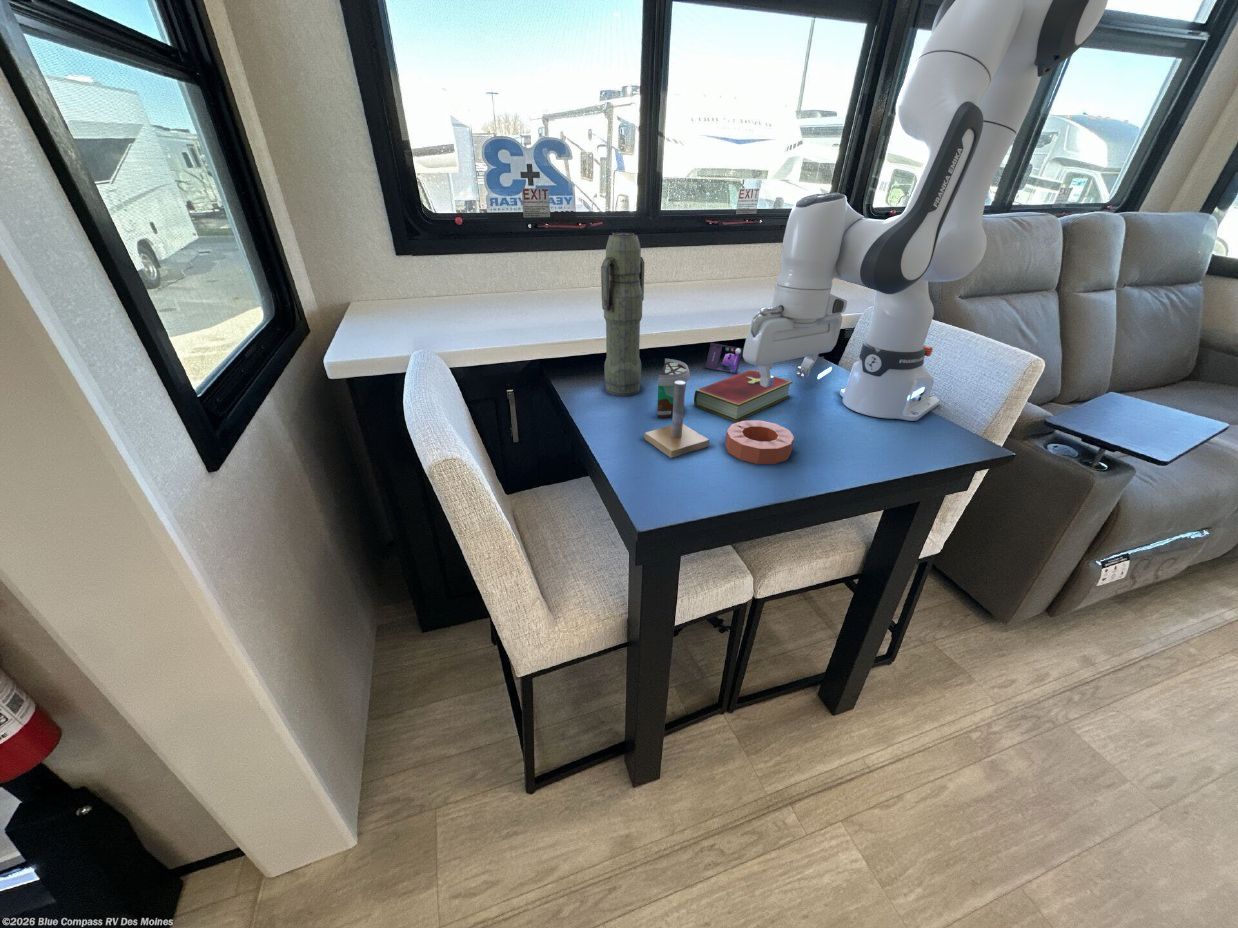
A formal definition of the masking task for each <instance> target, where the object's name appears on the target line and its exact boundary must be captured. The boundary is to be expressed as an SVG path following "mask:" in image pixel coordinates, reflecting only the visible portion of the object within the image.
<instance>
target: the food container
mask: <svg viewBox="0 0 1238 928" xmlns="http://www.w3.org/2000/svg"><path fill="white" fill-rule="evenodd" d="M690 378H691V374H690V369H689V366H688V364H686V363H685V362H683V361H681V360H677V359H673V358H671V359H670V358H664V364H663V367H662V370H661V373H660V374H659V375H658V379H657V415H656V416H657V417H656V418H657V419H668V418H672V417H673V400H674V383H675V381H684V382H685V389H686V387H687V382H688V381H689V380H690Z"/></svg>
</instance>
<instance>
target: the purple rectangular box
mask: <svg viewBox="0 0 1238 928" xmlns="http://www.w3.org/2000/svg"><path fill="white" fill-rule="evenodd" d="M723 348H724V350H725V352H728V353H725V354H724V357H723V359H722V360H721V361H722V362H721V363H720V358H721V354H722V351H723ZM708 350H709V351H708V354H707V359H706V364H705V368H707V369H711V370H716V371H721V372H727V373H731V374H738V370H739V366H740V362H741V358H742V355H743V350H744V348H742V347H737V346H732V345H725V344H720V343H715V342H711V343H710V346H709V349H708ZM734 353H735V354H734ZM719 364H722V365H723V367H728V368H729V367H731V368H730V370H728V369H722V368H718V367H719Z"/></svg>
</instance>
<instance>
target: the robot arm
mask: <svg viewBox="0 0 1238 928" xmlns="http://www.w3.org/2000/svg"><path fill="white" fill-rule="evenodd" d="M1108 3H1109V0H943V1H942V3H941V5H940V6H939V8H938V10H937V13H936V15H935V18H934V20H933V24H932V27H931V33H930V36H929V37H928V39H927V40H926V42H925V44H924V46H923V48H922V49H921V50H920V52H919V54H918V56H917V58H916V60H915V62H914V64H913V65H912V67H911V69H910V71H909V72H908V74H907V76H906V78H905V80H904V83H903V84H902V87H901V88H900V91H899V94H898V97H897V100H896V104H895V115H896V121H897V125H898V127H899V129H900V131H901V132H902V133H903V134H904V135H905V137H907V139H908V140H910V141H911V142H912V143H914V144H915V145H917V146H918V147H919V148H922V149H924V150H925V151H927V152H926V153H927V154H926V160H925V162H924V165H923V168H922V170H921V172H920V174H919V176H918V179H917V181H916V184H915V186H914V188H913V190H912V193H911V195H910V198H909V200H908V202H907V205H906V207H905V209H904V211H903V212H902V213H901V214H898V215H895V216H891V217H889V218H887V219H875V218H869V217H865V216H864V215H862V214H861V213H859V212H857V211H856V210H855V209H854V208H852V207H851V206H850V204H849V203H848V201H847V200H848V198H847V196H846V195H845V194H843V193H839V192H824V193H816V194H811V195H806V196H804V197H802V198H800V199H799V200H797V201H796V202H795V203H794V205H793V207H792V209H791V211H790V213H789V217H788V219H787V223H786V226H785V230H784V235H783V240H782V246H781V250H780V263H781V264H780V271H779V273H778V276H777V278H776V281H775V287H774V291H773V298H772V304H771V307H762V308H760V309H759V311H758V312H756V314H755V315H754V316H753V317H752V318H751V323H750V325H749V328H748V330H747V334H746V337H745V342H744V346H743V350H742V358H743V360H744V362H745V363H747V364H749V365H752V366H755V367H757V371H759V373H760V375H761V378H760V385H761V386H763V387H769V386H772V385H773V381H774V377H773V376H774V375H772V374H771V371H770V370H772V369H773V365H774V364H776V363H782V362H786V361H791V360H795V359H800V358H801V359H802V358H803V361H802V362H801V365H800V366H797V369H796V373H795V375H796V377H797V378H800V379H805V378H809V376H810V374H811V369H812V368H813V366H814V365H815V363H816V362H817V360H818V357H819V355H820V354H824V353H829V352H832V350H833V349H834V348H835V346H837V342H838V339H839V335H840V331H841V327H842V324H843V323H842V322H843V316H842V314H844V312H845V311H846V309H847V306H848V300H846V299H844V298H842V297H841V296H837V295H834V294H833V293H831V291H832V289H833V280H834V279H836V280H840V281H843V282H846V283H850V284H854V285H855V284H856V285H860V286H864V287H867V288H869V289H871V290H874V301H873V309H872V313H871V319H870V322H869V326H868V330H867V334H866V339H865V340H864V341H863V342H862V346H861V347H860V350H859V352H860V353H859V360H857V361H855V362H854V363H853V365H852V367H851V371H850V374H849V376H848V380H847V382H846V384H845V388H842V389H840V391H839V395H840V396H841V397H842V403H843V405H844V406H845V407H846V408H848V409H850V410H851V411H854V412H856V413H859V414H862V415H864V416H869V417H874V418H881V419H889V420H890V419H891V420H893V419H896V420H903V421H909V422H917V421H919V420H920V419H921V418H923V417H924V416H925V415H927V414H928V413H930V411H932V410H934V409H935V408H937V406H939V405H940V401H941V400H940V399H939V398H937V397H936V396H935V395H932V394H931V392H932V389H933V385H934V377H933V376H932V375H931V374H930V372H929V371H928V370H927V368H925V366H924V364H925V363H924V362H925V357H931V355H932V354H933V352H934V347H932V346H927V345H925V344H926V343H925V342H926V340H927V336H928V334H929V331H930V327H931V324H932V322H933V318H934V314H935V310H934V309H935V308H934V305H933V304H934V303H933V301H932V300H931V297H930V292H929V282H930V283H939V282H940V283H941V282H942V283H943V282H955V281H958V280H961V279H963V278H965V277H967V276H969V275H970V274H971V273H973V271H974V270H975V269H977V268H978V266H979V264H981V261H982V260H983V258H984V256H985V254H986V250H987V245H988V239H987V234H986V232H985V230H984V225H983V220H984V219H983V217H984V210H985V205H986V201H987V198H988V194H989V191H990V188H991V185H992V184H993V181H994V179H995V177H996V175H997V173H998V171H999V169H1000V167H1001V165H1002V163H1003V161H1004V159H1005V157H1006V155H1007V154H1008V152H1009V150H1010V148H1011V146H1012V144H1013V142H1014V140H1015V138H1016V137H1017V134H1018V133H1019V131H1020V129H1021V127H1022V125H1023V123H1024V121H1025V118H1026V117H1027V114H1028V112H1029V110H1030V107H1031V105H1032V104H1033V103H1032V102H1033V101H1034V98H1035V95H1036V93H1037V90H1038V87H1039V85H1040V81H1041V78H1042V77H1043V76H1046V75H1048V74H1050V73H1051V71H1053V70H1054V69H1055V68H1056V66H1058V65H1059V64H1061V63H1063V62H1064V61H1066V60H1067V59H1068V58H1070V57H1072V55H1074V54H1075V53H1076V52H1077V51H1078V50H1079V49H1080V48H1081V47H1082V46H1083V45H1084V44H1085V43H1086V42H1087V41H1088V39H1089V38H1090V36H1091V35H1092V33H1093V32H1094V30H1095V28H1096V27H1097V25H1098V24H1099V23H1100V21H1101V19H1102V17H1103V15H1104V13H1105V10H1106V8H1107V5H1108ZM832 369H833V367H832V366H830V367H829V368H827V369H825V370H823V371H822V372H820V373H819V374H818V375H817V380H820V379H821V378H823V377H824V376H826V375H827V374H829V373H830V372H831V371H832ZM771 375H772V376H771Z"/></svg>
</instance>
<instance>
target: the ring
mask: <svg viewBox="0 0 1238 928" xmlns="http://www.w3.org/2000/svg"><path fill="white" fill-rule="evenodd" d="M794 441H795V435H793V434H792V432H791V431H790V429H788V428H786V427H784V426H782V425H781V424H778V423H776V422H775V423H774V422H770V421H765V420H760V419H759V420H757V419H755V420H740V421H737V422H734V423H732V424H731V425H730V426H729V427H728V428H727V429H726V432H725V440H724V447H725V448H726V451H727V453H728V454H729V455H731V456H733V457H735V458H736V459H738V460H740V461H742V462H747V463H751V464H755V465H776V464H779V463H782V462H785V461H787V460H789V458H790V456H791V454H792V451H793V447H794Z"/></svg>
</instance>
